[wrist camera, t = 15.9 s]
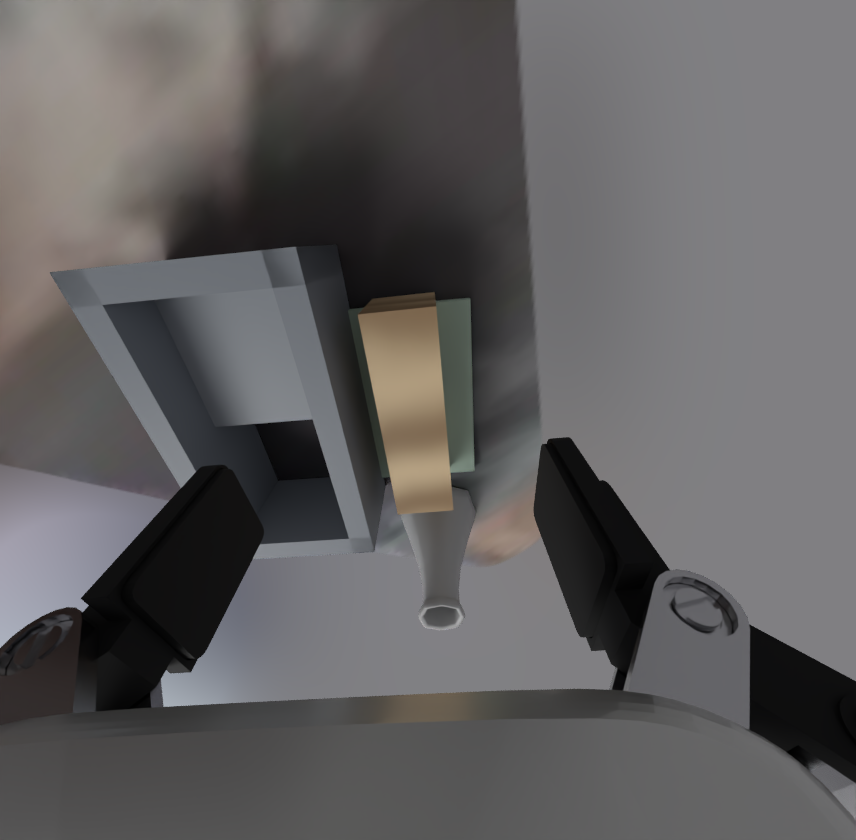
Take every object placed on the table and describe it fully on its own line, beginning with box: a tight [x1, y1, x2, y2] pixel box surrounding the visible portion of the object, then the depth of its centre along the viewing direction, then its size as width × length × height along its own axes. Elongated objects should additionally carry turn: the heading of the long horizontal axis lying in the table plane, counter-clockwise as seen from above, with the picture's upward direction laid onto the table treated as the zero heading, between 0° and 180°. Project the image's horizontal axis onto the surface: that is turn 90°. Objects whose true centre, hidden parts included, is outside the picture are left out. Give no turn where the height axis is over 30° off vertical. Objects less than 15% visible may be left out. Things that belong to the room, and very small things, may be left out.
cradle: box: [50, 245, 385, 559], centre depth 22 cm, size 19×11×7 cm, turn 5°
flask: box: [400, 487, 476, 630], centre depth 26 cm, size 7×7×10 cm
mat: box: [348, 298, 474, 478], centre depth 24 cm, size 14×8×1 cm, turn 5°
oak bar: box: [358, 292, 453, 514], centre depth 22 cm, size 14×4×5 cm, turn 6°
